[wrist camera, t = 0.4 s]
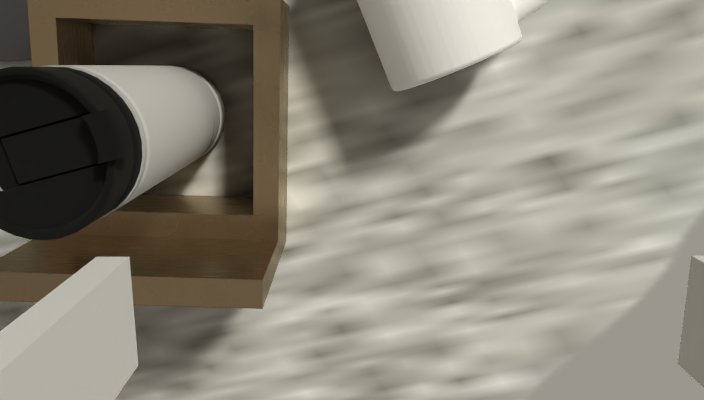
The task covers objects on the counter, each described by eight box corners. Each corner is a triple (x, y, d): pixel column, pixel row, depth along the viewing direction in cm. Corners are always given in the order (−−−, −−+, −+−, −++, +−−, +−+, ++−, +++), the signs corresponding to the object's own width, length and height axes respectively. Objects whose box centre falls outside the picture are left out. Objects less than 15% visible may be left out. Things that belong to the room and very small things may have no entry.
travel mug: (242, 146, 41) (147, 219, 21) (148, 171, 41) (-31, 267, 22) (214, 52, 40) (84, 40, 20) (117, 79, 40) (-104, 93, 20)
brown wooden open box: (66, -2, 39) (-55, -32, 27) (288, 6, 39) (263, -20, 27) (81, 235, 42) (-22, 300, 30) (286, 241, 42) (262, 308, 31)
